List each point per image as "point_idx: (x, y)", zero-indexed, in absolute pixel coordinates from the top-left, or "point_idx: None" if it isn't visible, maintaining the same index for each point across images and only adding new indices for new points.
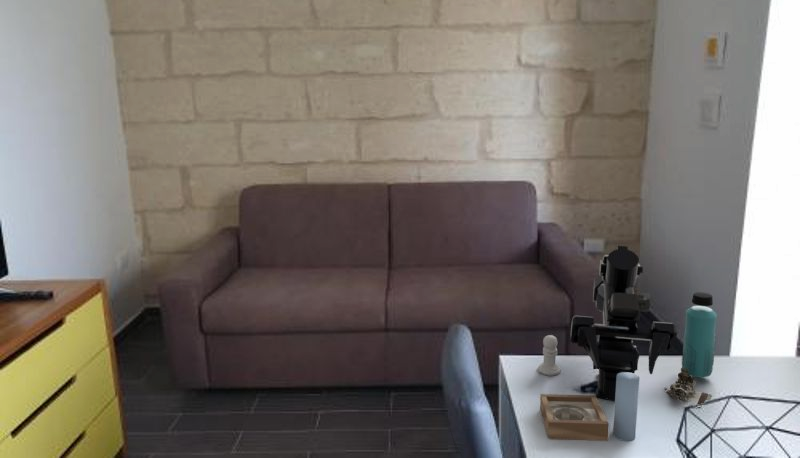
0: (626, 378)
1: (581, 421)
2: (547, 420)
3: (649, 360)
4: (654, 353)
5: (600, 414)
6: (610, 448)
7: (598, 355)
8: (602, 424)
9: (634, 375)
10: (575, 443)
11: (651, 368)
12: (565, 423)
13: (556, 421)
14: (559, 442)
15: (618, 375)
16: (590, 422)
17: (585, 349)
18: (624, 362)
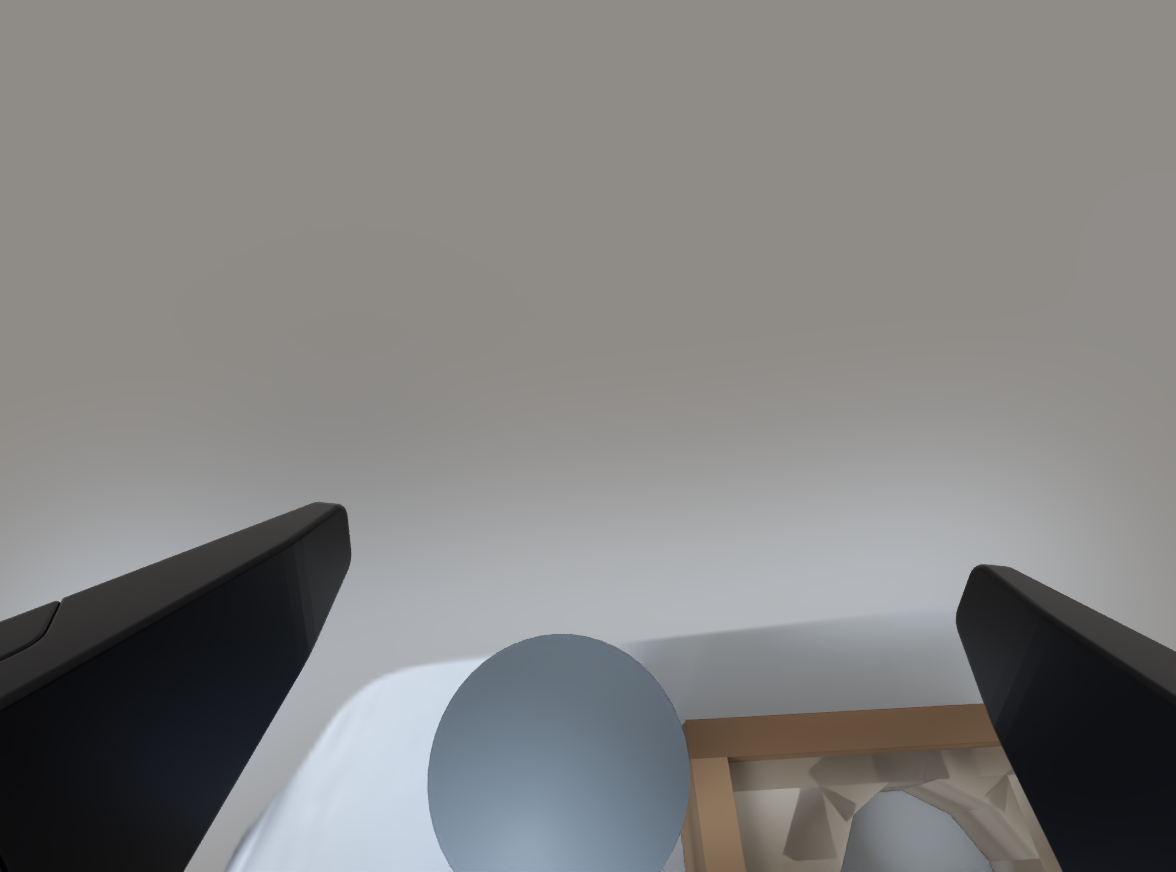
0: (586, 719)
1: (860, 730)
2: None
3: (217, 720)
4: (88, 612)
5: (734, 859)
6: (664, 665)
7: (1092, 642)
8: (725, 718)
9: (466, 821)
10: (843, 695)
11: (318, 512)
12: (953, 706)
13: None
14: (926, 696)
15: (665, 804)
16: (802, 723)
17: None
18: None
